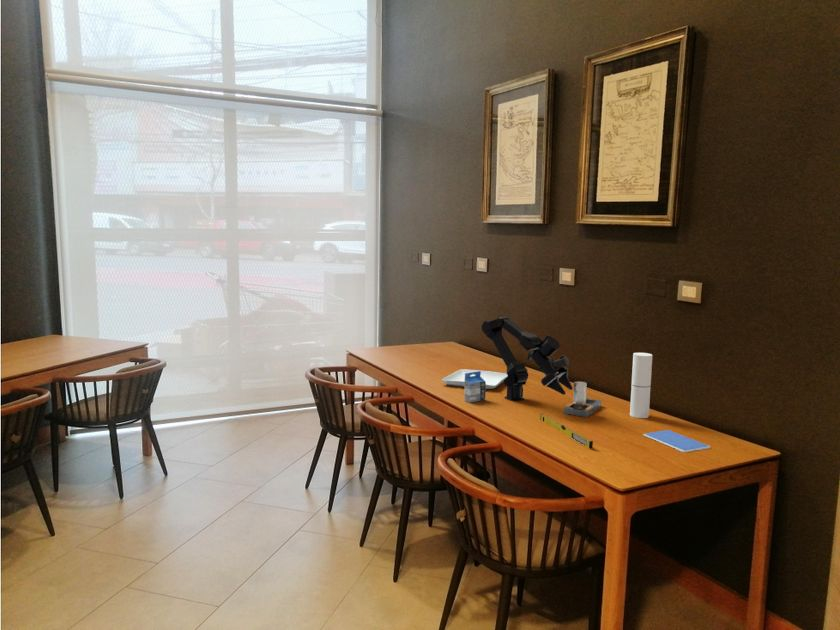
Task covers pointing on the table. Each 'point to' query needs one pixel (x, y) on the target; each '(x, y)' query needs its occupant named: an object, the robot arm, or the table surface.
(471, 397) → the label tape box
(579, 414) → the grey flat frame
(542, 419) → the spirit level
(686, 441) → the tablet computer
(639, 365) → the cylindrical container
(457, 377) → the square plate
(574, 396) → the steel peg
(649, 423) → the table surface
